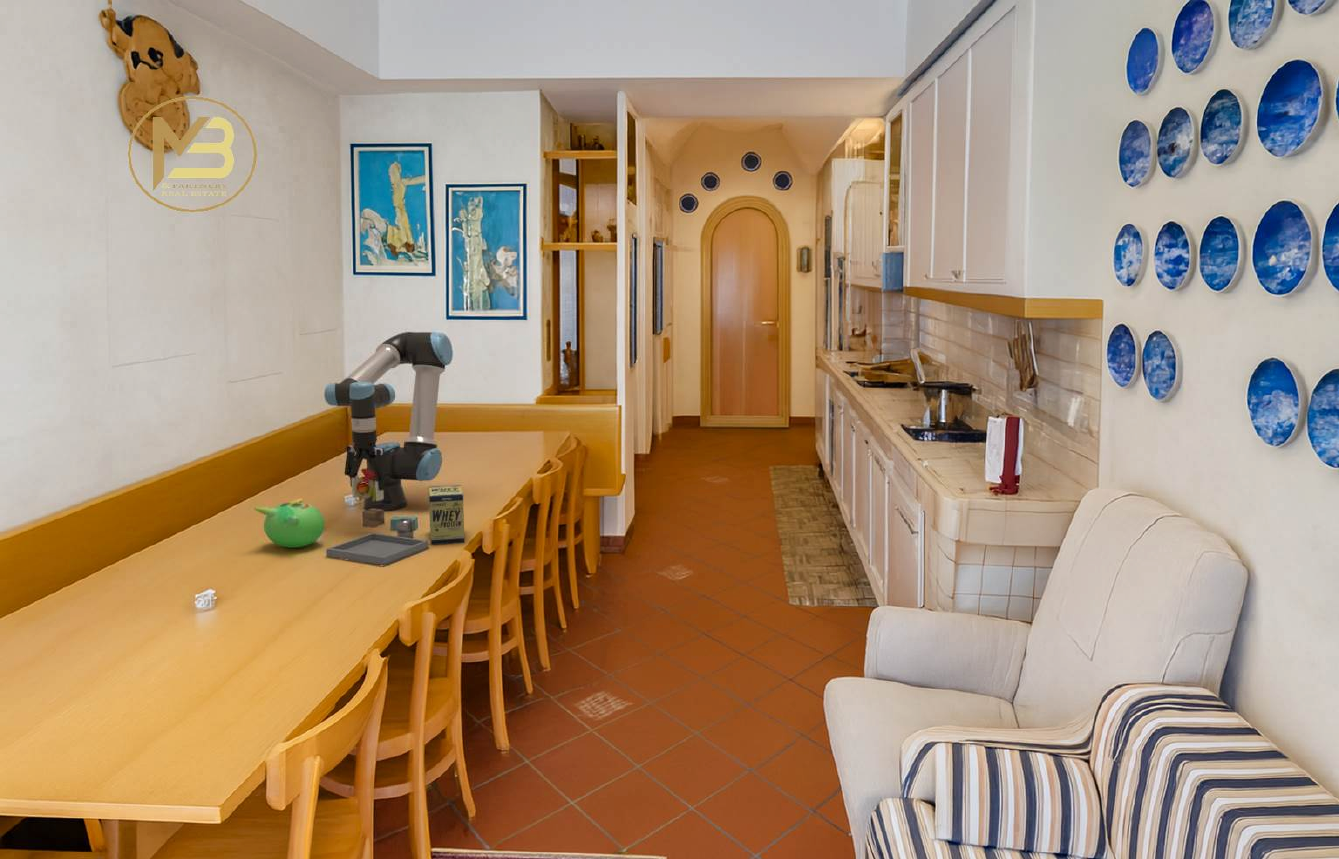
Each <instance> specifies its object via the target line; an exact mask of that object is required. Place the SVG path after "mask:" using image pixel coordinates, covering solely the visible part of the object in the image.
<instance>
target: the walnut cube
mask: <svg viewBox="0 0 1339 859" xmlns="http://www.w3.org/2000/svg"><path fill="white" fill-rule="evenodd" d="M361 514H362V516H361V517H362V526H363V527H367V526H369V528H377V527H380V526H383V525H385V511H384V510H381V509H373V508H372V509H369V510H367V509H365V510H363V511H362V512H361ZM382 524H383V525H382ZM379 525H380V526H379Z"/></svg>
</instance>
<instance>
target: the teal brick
mask: <svg viewBox="0 0 1339 859" xmlns="http://www.w3.org/2000/svg"><path fill="white" fill-rule="evenodd" d="M418 518H419V517H418V516H392V517H391V518H390V520H389V523H390V531H391V532H397V520H399V519H412V520H413V532H415V531H417V529H419V523H418V522H419V521H418V520H419V519H418Z"/></svg>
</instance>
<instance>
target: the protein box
mask: <svg viewBox="0 0 1339 859" xmlns="http://www.w3.org/2000/svg"><path fill="white" fill-rule="evenodd" d="M428 507H429V508H428V509H429V510H428V511H429V513H428V514H429V529H430V531H429V532H430V545H445V544H461V543H465V519H464V518H465V517H464V516H465V515H464V494H463V489H462V485H439V486H438V485H435V486H428Z"/></svg>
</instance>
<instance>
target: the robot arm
mask: <svg viewBox="0 0 1339 859" xmlns="http://www.w3.org/2000/svg"><path fill="white" fill-rule="evenodd" d="M453 354H454V353H453V346H452V343H451V340H450V338H449V336H448V335H446V333H443V332H434V331H431V332H430V331H427V332H426V331H424V332H423V331H420V332H419V331H418V332H416V331H405V332H401V333H397V334H396V335H393V336H391V337H389V338H388V339H386V340H385V341H383V342H382V343H381V344H379V345H378V346H377V347H376V349H375V352H374V353H373V354H372V355H371V356H370V357H368V358H367V359H366V360H365V361H364V362H363V363H361V364H360V366H358V367H357V368H356V369H354V371H352V372H351V373H350V374H349V375H348V376H346V377H345V378H344V379H343V380H342V381H341V382H339V383H337V382H335V383H329V384H326V385H327V386H326V387H325V389H324V392H323V394H324V400H325V402H326V403H327V404H328V405H330V406H334V407H350V420H351V430H352V432H351V439H352V443H353V444H351V445H348V446H346V448H345V450H346V458H345V459H346V460H345V467H344V475H345V476H348V477H349V482H350V483H349V484H350V487H351V489H352V490H351V493H352V499H353V498H355V499H356V498H359V497H358V496H357V495H356V493H355V491H354V484H355V482H356V480H357V479H359V478H360V476H359V471H360V467H361V466H362V463H363V460H365V461H366V468H368V469H369V470H373V472H374V474H375V476H376V478H375V479H374V478H372V480H373V481H374V483H375V490H376V499H375V501H373V500H372V499H373V496H371V497H370V498H367V499H363V508H364V510H369V509H372V508H373V509H381V510H384V512H385V511H387V512H388V511H396V510H401V509H403V508H406V507H408V500H407V496H406V494H405V492H404V489H403V486H402V485H403V484H402V480H405V481H419V482H423V481H424V482H430V481H432V480H434V479H435V478H437V476H438V475H439V473H440V471H441V468H442V464H443V457H442V455H443V454H442V452H441V450H440V449H438V444H437V443H436V441H435V440H434V438H435V437H434V435H435V429H436V428H435V427H436V426H435V425H436V417H437V409H438V397H439V390H440V389H439V387H440V379H441V378H440V377H441V374H443V373H444V372H445V371H446V366H448V365H450V364H451V363H452V360H453V356H454V355H453ZM404 364H405V365H406V364H411V368H412V369H413V371H415V375H414V376H415V377H414V386H413V394H412V395H413V396H412V405H411V415H410V425H409V434H408V438H407V439H405V440H404V442H403V447H402V446H401V443H399V442H396V441H394V442H391V441H390V442H385V443H379V444H378V443H377V441H378V434H377V432H378V431H376V429H377V420H376V419H377V418H376V409H380V408H386V407H388V406H389V405H391V404H393V402H394V401H395V399H396V391H395V389H394V387H393V386H391V384H389V383H385V382H383V383H378V384H376V382H377V381H379V379H380V378H382V377H383V376H384V375H385V374H386V373H387V372H388V371H389V370H391V369H395V368H397V367H399V365H404ZM376 443H377V444H376ZM367 484H368V483H367ZM368 485H369V484H368ZM369 490H370V486H369ZM383 490H384V491H383ZM368 492H369V491H368ZM368 492H367V493H366V494H368Z"/></svg>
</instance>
